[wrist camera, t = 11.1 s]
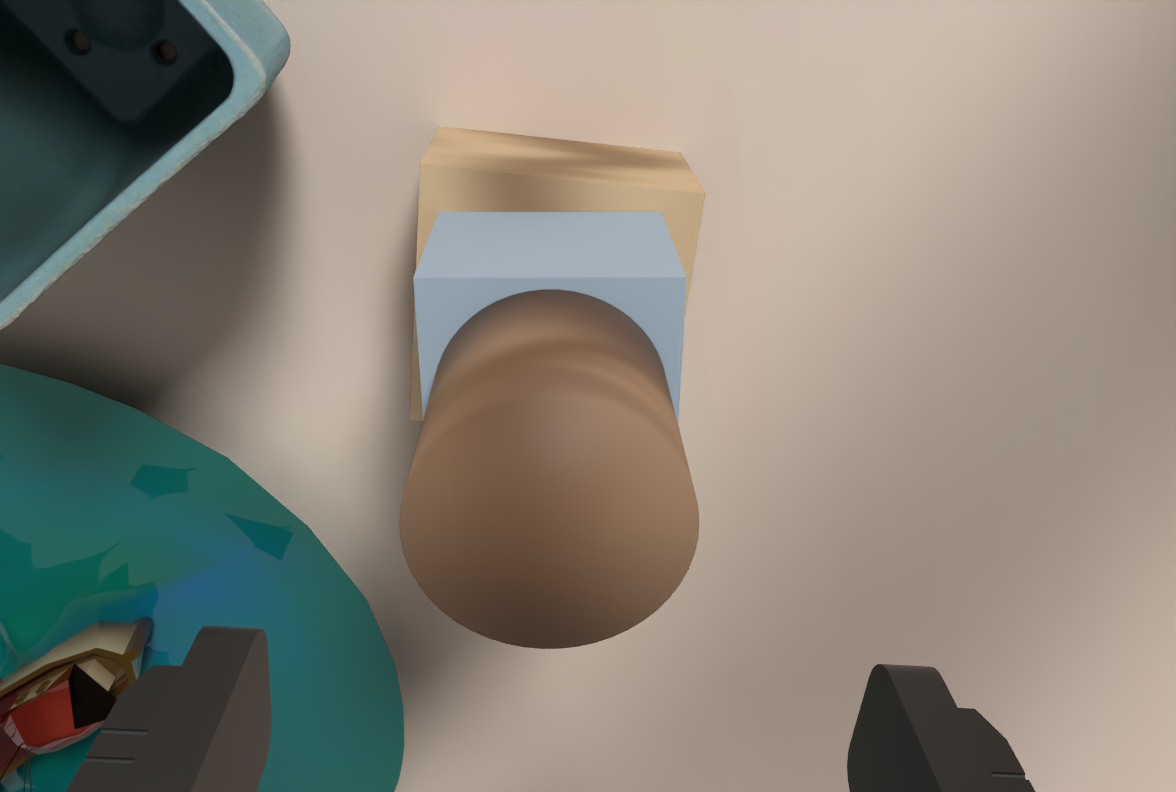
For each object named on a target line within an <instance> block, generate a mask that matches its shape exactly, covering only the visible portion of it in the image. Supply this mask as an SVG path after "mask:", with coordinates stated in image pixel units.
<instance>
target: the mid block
mask: <svg viewBox="0 0 1176 792" xmlns="http://www.w3.org/2000/svg"><path fill="white" fill-rule="evenodd" d="M413 282H414V296H415V310H416V324H417V338H418V352H419V366H420V380H421V394H422V409H423V419H424V416H425V412H426V408H427V404H428V401H429V397H430V393H431V389H432V385H433V382H434V378H435V374H436V370H437V367H438V364H439V361H440V359H441V356H442V354H443V352H444V350H445V348H446V346H447V345H448V343H449V341H450V340H451V338H452V337H453V336H454V334H455V333H456V332H457V331H458V329H459V328H460V327H461V326H462V325H463V324H464V323H465V322H466V321H467V320H468V319H469V318H471V317H472V316H473V315H475V314H476V313H477V312H479V311H480V310H481V309H483V308H485V307H486V306H488V305H490V304H492V303H494V302H496V301H498V300H500V299H503V298H506V297H508V296H511V295H514V294H518V293H522V292H526V291H534V290H542V289H559V290H567V291H575V292H579V293H583V294H586V295H590V296H593V297H595V298H598V299H600V300H603V301H605V302H607V303H609V304H611V305H613V306H614V307H616V308H618V309H619V310H621V311H622V312H624V313H625V314H626V315H628V316H629V317H630V318H631V319H632V320H634V321H635V322H636V323H637V324H638V325H639V326H640V327H641V328H642V329H643V331H644V332H645V333H646V335H647V336H648V337H649V338H650V340H651V341H652V343H653V345H654V347H655V348H656V350H657V352H658V354H659V356H660V359H661V361H662V364H663V367H664V371H665V375H666V379H667V383H668V387H669V391H670V395H671V399H672V403H673V407H674V411H675V415H676V419H677V423H678V417H679V400H680V382H681V365H682V347H683V329H684V312H685V294H686V275H685V272H684V270H683V267H682V265H681V262H680V259H679V257H678V254H677V252H676V249H675V247H674V244H673V241H672V239H671V236H670V234H669V231H668V228H667V226H666V223H665V221H664V218H663V216H662V213H661V212H439V213H438V215H437V218H436V220H435V223H434V225H433V228H432V231H431V233H430V236H429V238H428V241H427V244H426V246H425V249H424V251H423V254H422V256H421V259H420V262H419V264H418V267H417V269H416V272H415V274H414V277H413Z"/></svg>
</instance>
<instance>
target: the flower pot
mask: <svg viewBox="0 0 1176 792" xmlns="http://www.w3.org/2000/svg"><path fill="white" fill-rule="evenodd" d="M73 31H82V32H83V33H85V34H86V35H87V37H88V39H89V47H88V49H86V50H79V49H76V48H75V47H74V46H73V45H72V43H71V40H70V36H71V34H72V32H73ZM162 41H167V42H169V43H171V44H172V45H173V46H174V48H175V50H176V56H175V58H174V59H173V60H171V61H166V60H163V59H162V58H161V57H160V56H159V55H158V52H157V46H158V45H159V44H160V43H161V42H162ZM290 46H291V45H290V38H289V36H288V33H287V31H286V29H285V28H284V26H283V24H282V23H281V22H280V21H279V19H278V18H277V17H276V16H275V14H274V13H273V12H272V11H271V10H270V8H269V7H268V6H267V5H266V4H265V3H264V2H263V0H0V330H2V329H3V328H5V327H7V326H8V325H10V324H11V323H12V322H13V321H14V320H15V319H17V318H18V317H19V316H20V315H21V313H22V312H23V311H24V310H25V309H26V308H28V307H29V306H30V305H31V304H32V303H34V302H35V301H36V300H37V299H38V298H39V297H40V296H41V295H42V294H43V293H44V292H45V291H46V290H47V289H48V288H49V287H50V286H52V285H53V284H54V283H55V282H56V281H57V280H58V279H59V278H60V277H61V276H62V275H63V274H64V273H66V272H67V271H68V270H69V269H70V268H72V267H73V266H74V265H75V264H76V263H77V262H78V261H79V260H80V259H81V258H82V257H83V256H84V255H85V254H86V253H87V252H89V251H90V250H91V249H92V248H93V247H94V246H95V245H96V244H98V243H99V242H100V241H101V240H102V239H103V238H104V237H105V236H107V235H108V234H109V233H110V232H111V231H112V230H113V229H114V228H116V227H117V226H118V225H119V224H120V223H121V222H122V221H123V220H125V219H126V218H127V217H128V216H129V215H130V214H131V213H132V212H134V211H135V210H136V209H137V208H138V207H139V206H140V205H141V204H142V203H144V202H145V201H146V200H147V199H148V198H149V197H150V196H151V195H152V194H153V193H155V192H156V191H157V190H158V189H159V188H160V187H161V186H163V185H164V184H165V183H166V182H167V181H168V180H170V179H171V178H172V177H173V176H174V175H175V174H176V173H178V172H179V171H180V170H181V169H182V168H183V167H184V166H186V165H187V164H188V163H189V162H190V161H191V160H192V159H193V158H194V157H196V156H197V155H198V154H199V153H200V152H201V151H202V150H204V149H205V148H206V147H207V146H208V145H209V144H210V143H211V142H213V141H214V140H215V139H217V138H218V137H219V136H220V135H221V134H222V133H223V132H225V131H226V130H227V129H228V128H229V127H230V126H232V125H233V124H234V123H235V122H237V121H238V120H239V119H240V118H241V117H243V116H244V115H245V114H246V113H247V112H248V111H249V110H250V109H251V108H252V107H253V106H254V105H255V104H257V103H258V102H259V101H260V99H261V98H262V96H263V95H264V93H265V92H266V91H267V90H268V88H269V87H270V86H271V84H272V83H273V82H274V80H275V78H276V77H277V75H278V74H279V73H280V71H281V70H282V68H283V67H284V66H285V63H286V61H287V59H288V57H289V54H290Z"/></svg>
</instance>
